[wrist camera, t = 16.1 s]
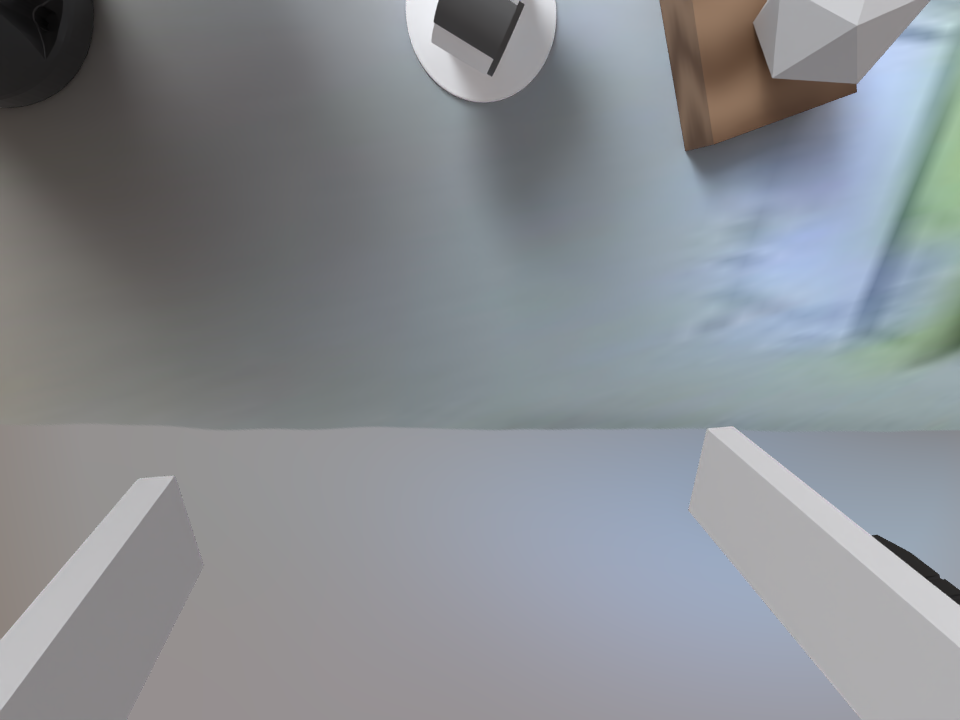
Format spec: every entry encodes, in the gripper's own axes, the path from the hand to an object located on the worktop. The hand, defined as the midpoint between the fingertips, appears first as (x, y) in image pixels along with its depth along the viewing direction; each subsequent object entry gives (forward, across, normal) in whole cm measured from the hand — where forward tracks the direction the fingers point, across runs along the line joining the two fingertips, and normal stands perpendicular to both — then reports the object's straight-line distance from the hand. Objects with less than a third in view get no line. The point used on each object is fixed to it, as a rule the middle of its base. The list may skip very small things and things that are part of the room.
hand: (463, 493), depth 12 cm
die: (+27, +28, +17) cm, 42 cm away
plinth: (+31, +27, +16) cm, 44 cm away
